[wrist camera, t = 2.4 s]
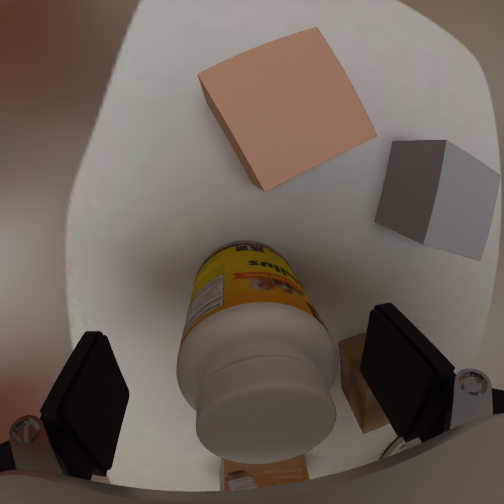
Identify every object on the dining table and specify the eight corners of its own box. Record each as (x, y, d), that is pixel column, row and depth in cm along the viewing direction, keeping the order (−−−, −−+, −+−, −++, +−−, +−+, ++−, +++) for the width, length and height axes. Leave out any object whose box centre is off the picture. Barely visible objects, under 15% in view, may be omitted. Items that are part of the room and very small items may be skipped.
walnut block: (396, 366, 20) (424, 406, 15) (341, 387, 20) (363, 433, 15) (399, 319, 18) (437, 357, 14) (338, 341, 18) (366, 389, 14)
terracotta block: (332, 142, 14) (377, 136, 10) (252, 183, 15) (265, 192, 10) (289, 64, 13) (316, 27, 8) (206, 102, 13) (197, 73, 8)
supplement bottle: (311, 283, 17) (393, 411, 7) (244, 341, 18) (263, 487, 8) (244, 216, 15) (277, 315, 5) (175, 285, 16) (128, 430, 6)
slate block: (430, 237, 17) (479, 261, 12) (373, 220, 16) (423, 244, 11) (447, 167, 15) (500, 175, 11) (391, 141, 15) (446, 140, 10)
